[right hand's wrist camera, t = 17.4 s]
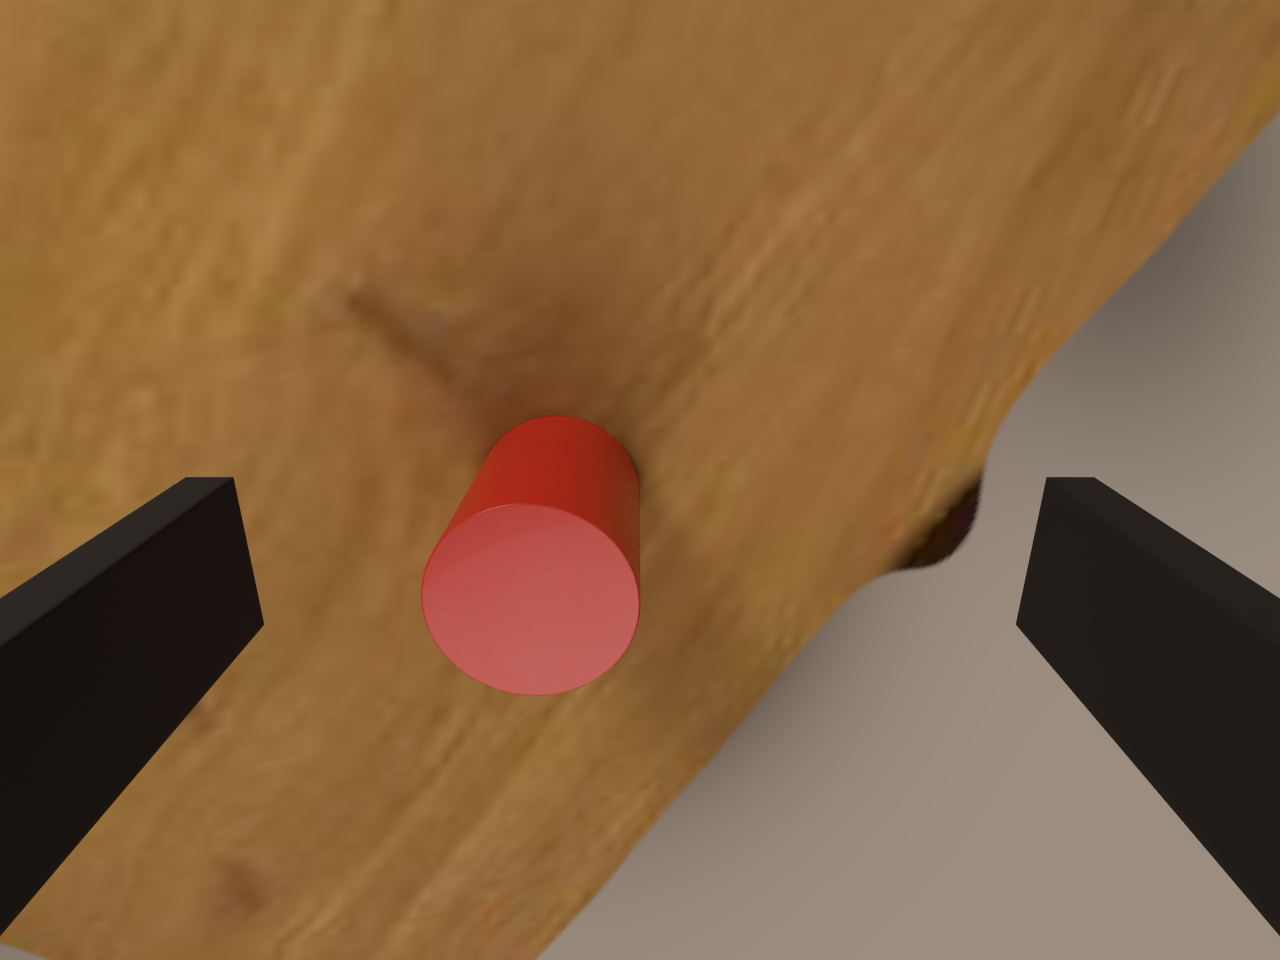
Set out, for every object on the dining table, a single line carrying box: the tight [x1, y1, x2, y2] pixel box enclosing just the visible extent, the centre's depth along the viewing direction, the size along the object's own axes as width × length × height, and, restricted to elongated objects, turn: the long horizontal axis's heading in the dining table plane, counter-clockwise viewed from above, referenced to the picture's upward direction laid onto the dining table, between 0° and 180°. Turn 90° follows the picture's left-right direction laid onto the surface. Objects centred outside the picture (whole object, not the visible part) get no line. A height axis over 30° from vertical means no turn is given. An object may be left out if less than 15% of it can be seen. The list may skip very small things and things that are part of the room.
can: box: [421, 416, 640, 696], centre depth 26 cm, size 6×6×9 cm
